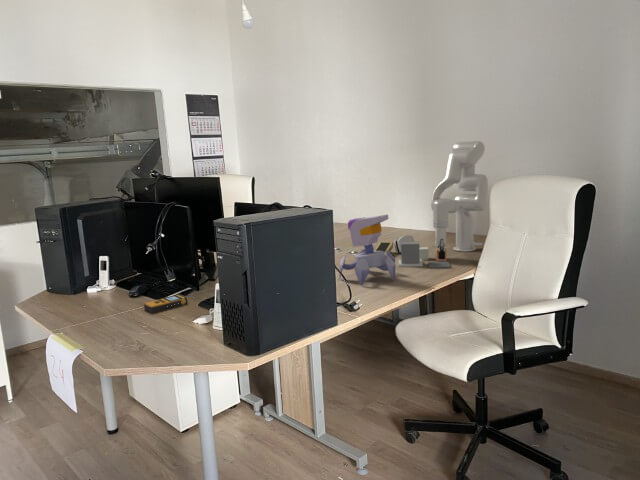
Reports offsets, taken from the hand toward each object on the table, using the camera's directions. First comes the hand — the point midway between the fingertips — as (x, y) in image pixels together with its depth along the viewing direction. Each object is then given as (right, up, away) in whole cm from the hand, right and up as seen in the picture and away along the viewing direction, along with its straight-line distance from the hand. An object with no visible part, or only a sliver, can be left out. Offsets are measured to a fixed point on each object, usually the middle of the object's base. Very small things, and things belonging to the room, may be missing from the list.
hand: (440, 257), depth 256 cm
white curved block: (-13, +2, +27) cm, 30 cm away
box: (-28, 0, +16) cm, 33 cm away
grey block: (-8, -1, +5) cm, 10 cm away
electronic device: (-127, -19, -53) cm, 139 cm away
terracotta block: (0, -2, 0) cm, 2 cm away
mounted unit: (-17, -3, -5) cm, 18 cm away
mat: (-4, -4, -11) cm, 12 cm away
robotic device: (-40, -9, -27) cm, 49 cm away
